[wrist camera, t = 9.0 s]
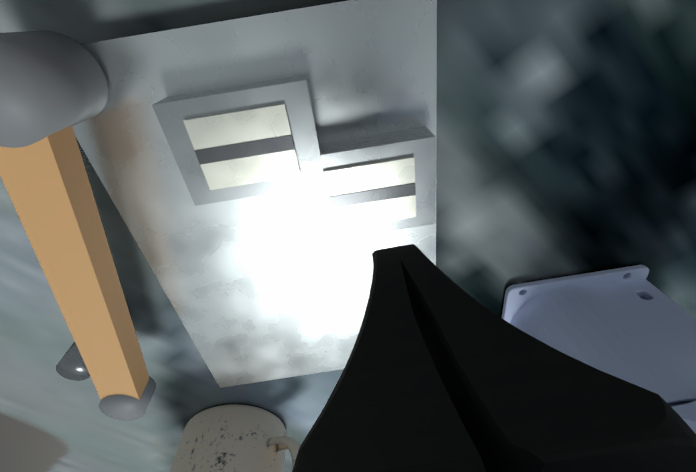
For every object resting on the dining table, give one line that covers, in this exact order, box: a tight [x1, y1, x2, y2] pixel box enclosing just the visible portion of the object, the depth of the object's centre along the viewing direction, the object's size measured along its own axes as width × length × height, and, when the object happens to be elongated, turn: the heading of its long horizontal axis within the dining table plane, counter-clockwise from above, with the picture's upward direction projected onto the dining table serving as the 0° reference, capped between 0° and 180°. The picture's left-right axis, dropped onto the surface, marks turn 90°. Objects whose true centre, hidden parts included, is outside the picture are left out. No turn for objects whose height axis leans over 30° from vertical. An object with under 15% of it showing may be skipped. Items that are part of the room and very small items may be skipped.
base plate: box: [56, 0, 437, 388], centre depth 18 cm, size 21×22×4 cm
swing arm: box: [0, 31, 156, 420], centre depth 16 cm, size 20×3×4 cm, turn 173°
